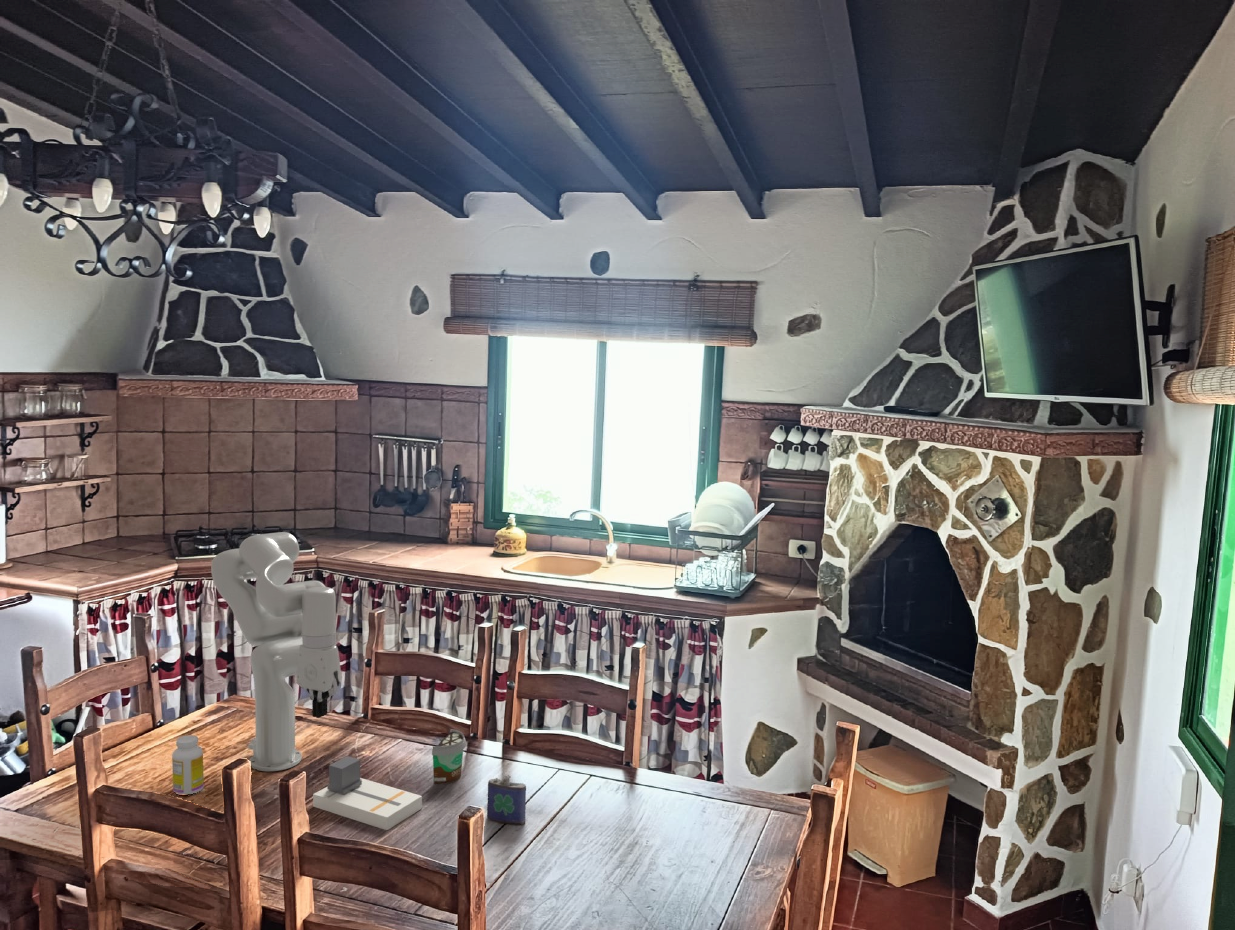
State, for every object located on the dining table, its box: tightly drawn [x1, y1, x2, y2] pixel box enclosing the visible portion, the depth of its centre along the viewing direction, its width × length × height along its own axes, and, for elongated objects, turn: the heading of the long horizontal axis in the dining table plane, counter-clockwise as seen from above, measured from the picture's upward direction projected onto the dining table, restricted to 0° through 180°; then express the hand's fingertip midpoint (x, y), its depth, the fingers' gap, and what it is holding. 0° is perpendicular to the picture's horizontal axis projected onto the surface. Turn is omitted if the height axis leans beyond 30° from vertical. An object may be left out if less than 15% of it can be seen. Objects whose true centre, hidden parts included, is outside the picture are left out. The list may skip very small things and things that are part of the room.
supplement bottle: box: [171, 734, 205, 795], centre depth 221 cm, size 7×7×13 cm
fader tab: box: [326, 755, 362, 794], centre depth 219 cm, size 5×6×6 cm
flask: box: [486, 774, 527, 826], centre depth 212 cm, size 9×3×11 cm, turn 74°
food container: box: [431, 728, 467, 785], centre depth 233 cm, size 12×6×10 cm, turn 168°
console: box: [312, 777, 423, 831], centre depth 216 cm, size 22×12×3 cm, turn 63°
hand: (319, 715), depth 221 cm, fingers closed
